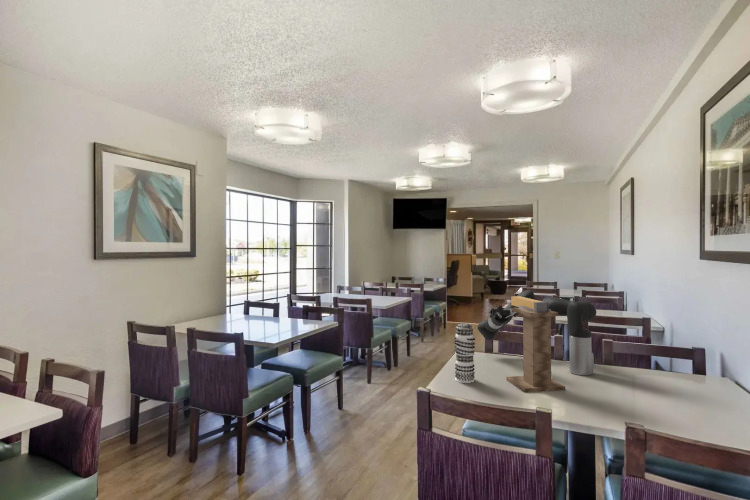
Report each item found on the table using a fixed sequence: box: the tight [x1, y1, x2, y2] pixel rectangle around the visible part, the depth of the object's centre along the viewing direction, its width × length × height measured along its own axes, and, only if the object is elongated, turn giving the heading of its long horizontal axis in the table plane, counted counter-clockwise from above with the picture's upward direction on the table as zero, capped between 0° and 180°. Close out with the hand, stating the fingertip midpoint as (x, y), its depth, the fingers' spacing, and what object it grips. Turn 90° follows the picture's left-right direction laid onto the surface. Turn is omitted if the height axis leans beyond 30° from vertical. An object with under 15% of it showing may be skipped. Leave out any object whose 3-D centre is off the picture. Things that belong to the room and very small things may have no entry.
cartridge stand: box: [505, 305, 566, 393], centre depth 176 cm, size 18×16×33 cm
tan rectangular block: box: [510, 295, 547, 312], centre depth 181 cm, size 5×23×4 cm, turn 8°
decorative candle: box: [453, 322, 476, 384], centre depth 183 cm, size 9×9×25 cm
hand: (509, 306), depth 197 cm, fingers open, 8 cm apart
